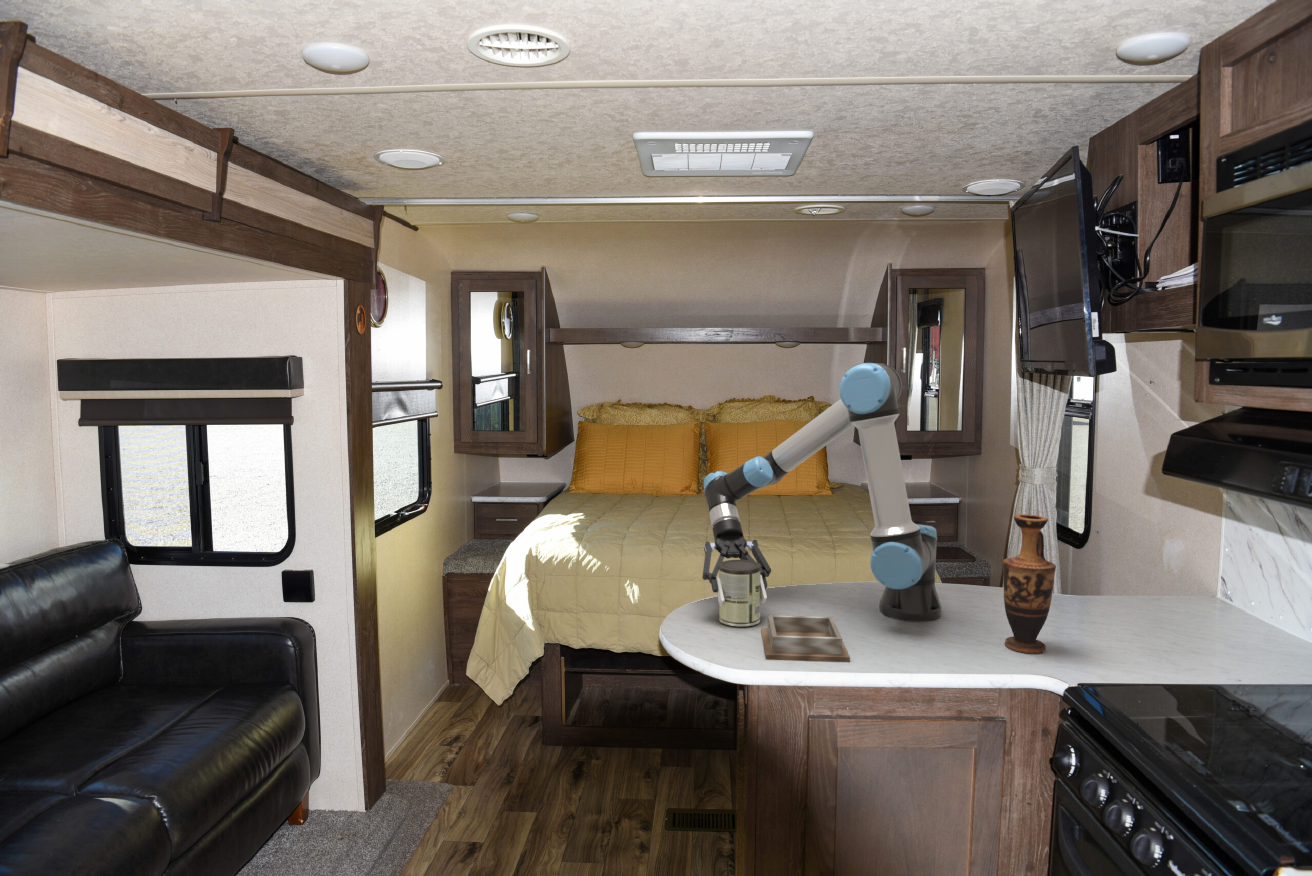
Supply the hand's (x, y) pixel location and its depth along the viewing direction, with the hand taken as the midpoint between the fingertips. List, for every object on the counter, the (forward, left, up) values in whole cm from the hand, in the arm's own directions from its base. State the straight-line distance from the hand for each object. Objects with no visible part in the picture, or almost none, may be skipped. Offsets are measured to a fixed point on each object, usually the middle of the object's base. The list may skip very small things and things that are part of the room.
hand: (743, 602), depth 197 cm
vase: (-63, +10, -6) cm, 64 cm away
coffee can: (+1, -3, -6) cm, 6 cm away
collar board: (-13, +13, -6) cm, 19 cm away
